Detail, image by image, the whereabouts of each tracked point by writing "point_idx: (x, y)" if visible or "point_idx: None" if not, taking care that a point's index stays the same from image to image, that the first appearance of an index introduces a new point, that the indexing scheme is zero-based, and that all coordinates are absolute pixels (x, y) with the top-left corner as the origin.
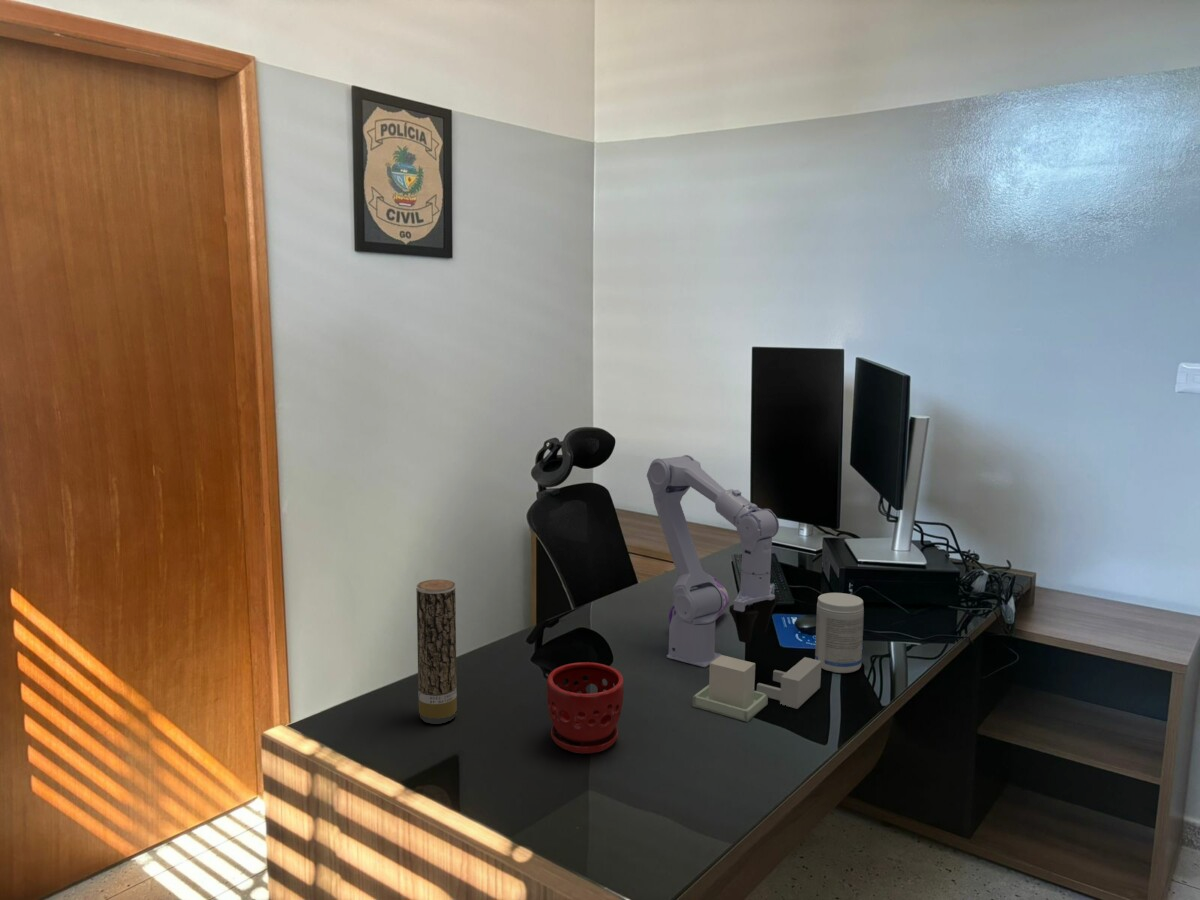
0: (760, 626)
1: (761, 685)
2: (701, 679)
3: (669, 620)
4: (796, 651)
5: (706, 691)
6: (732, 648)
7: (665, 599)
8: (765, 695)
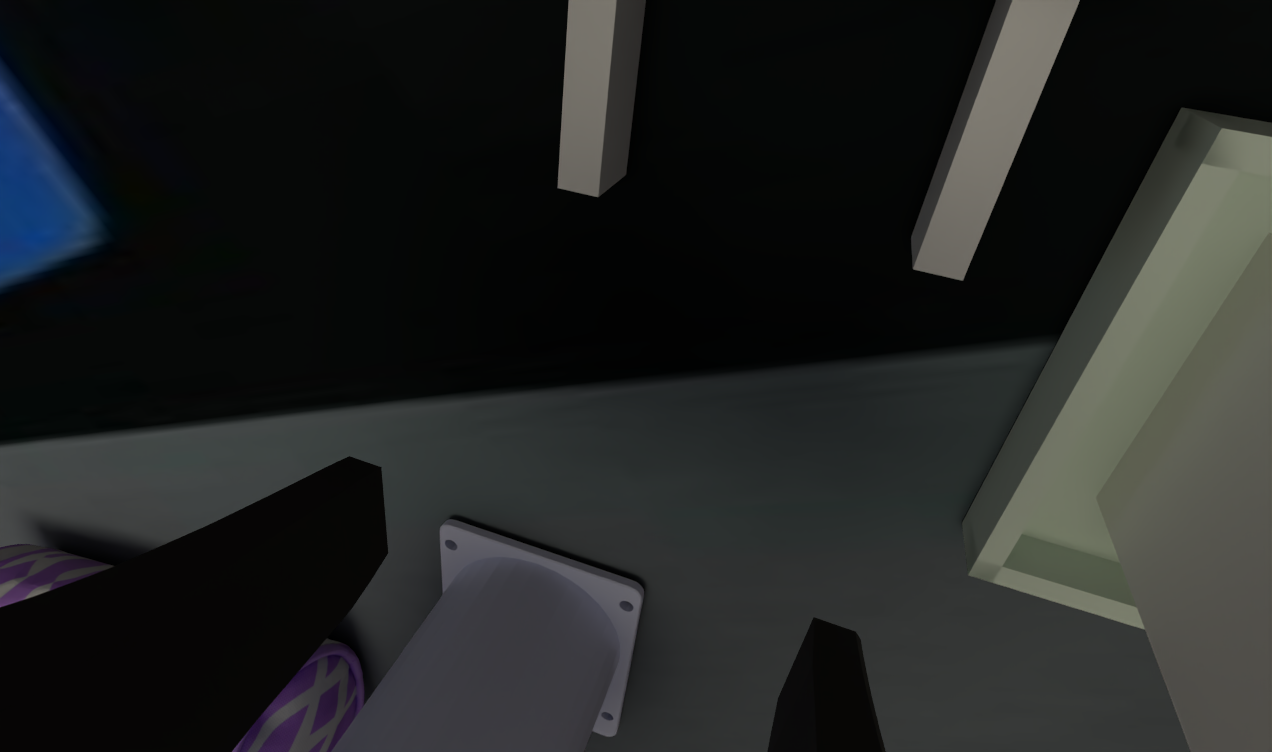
0: (345, 555)
1: (974, 237)
2: (812, 592)
3: None
4: (85, 122)
5: None
6: None
7: None
8: (1267, 148)
